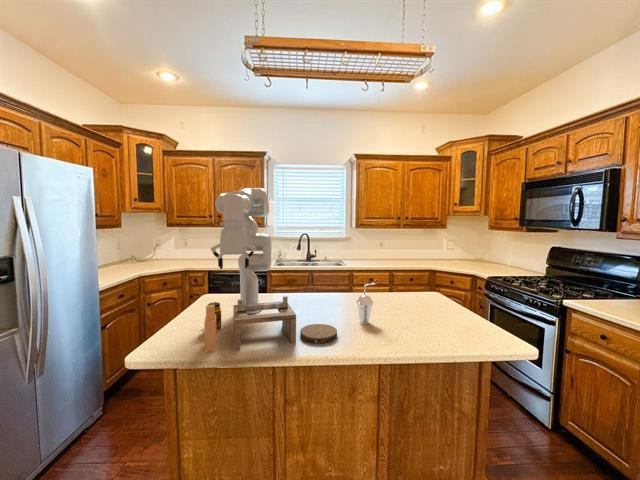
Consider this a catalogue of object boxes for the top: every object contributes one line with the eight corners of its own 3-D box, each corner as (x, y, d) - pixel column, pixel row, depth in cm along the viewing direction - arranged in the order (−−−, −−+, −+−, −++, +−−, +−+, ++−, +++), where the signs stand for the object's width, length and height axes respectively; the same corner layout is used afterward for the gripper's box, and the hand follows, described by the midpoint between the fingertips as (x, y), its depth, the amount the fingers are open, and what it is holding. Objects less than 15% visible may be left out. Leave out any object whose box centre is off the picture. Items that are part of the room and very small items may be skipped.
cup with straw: (360, 318, 153) (361, 279, 151) (376, 322, 147) (377, 282, 146) (352, 323, 146) (353, 282, 144) (369, 327, 140) (370, 285, 139)
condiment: (215, 333, 132) (215, 306, 131) (199, 330, 134) (199, 304, 133) (225, 327, 139) (225, 302, 138) (210, 325, 141) (210, 300, 140)
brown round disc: (302, 329, 137) (302, 323, 137) (336, 330, 137) (336, 324, 136) (298, 344, 121) (298, 337, 121) (337, 345, 121) (337, 338, 120)
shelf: (233, 331, 133) (233, 294, 132) (286, 326, 141) (286, 290, 139) (235, 350, 114) (234, 307, 113) (295, 343, 122) (296, 302, 120)
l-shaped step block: (206, 343, 121) (205, 303, 120) (216, 342, 122) (216, 302, 121) (204, 351, 113) (204, 309, 112) (216, 350, 114) (215, 308, 113)
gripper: (208, 225, 113) (209, 270, 114) (255, 225, 116) (255, 269, 117) (212, 225, 120) (212, 267, 121) (255, 225, 123) (256, 266, 124)
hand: (233, 268), depth 119 cm, fingers open, 9 cm apart
